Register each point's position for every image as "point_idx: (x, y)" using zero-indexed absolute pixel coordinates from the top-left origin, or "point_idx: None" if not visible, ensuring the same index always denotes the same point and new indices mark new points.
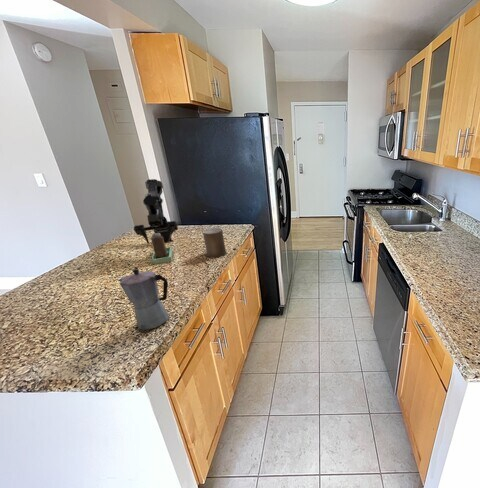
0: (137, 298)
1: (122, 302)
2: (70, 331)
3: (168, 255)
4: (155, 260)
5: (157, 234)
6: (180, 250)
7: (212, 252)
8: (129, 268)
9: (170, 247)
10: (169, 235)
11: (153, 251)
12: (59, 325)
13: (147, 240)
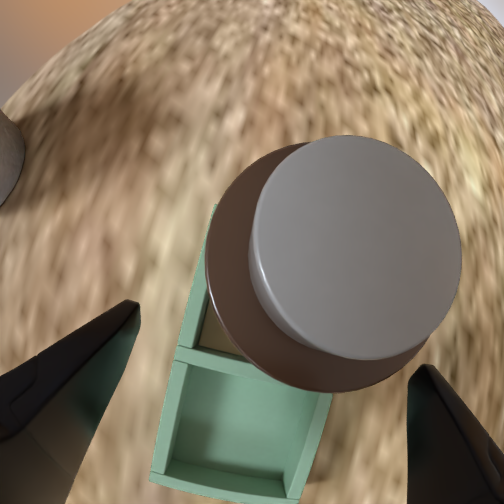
0: None
1: (418, 23)
2: (471, 21)
3: (209, 349)
4: None
5: (342, 165)
6: (103, 432)
7: (4, 114)
8: (457, 303)
9: (158, 463)
10: (71, 339)
11: (312, 459)
12: (499, 51)
13: (441, 390)
